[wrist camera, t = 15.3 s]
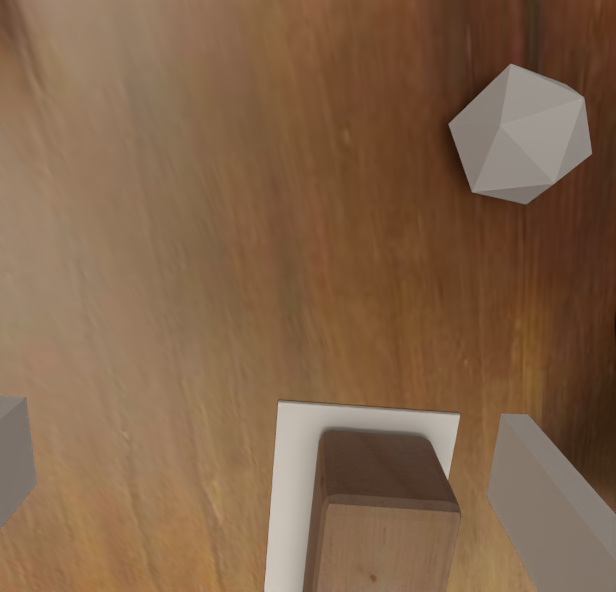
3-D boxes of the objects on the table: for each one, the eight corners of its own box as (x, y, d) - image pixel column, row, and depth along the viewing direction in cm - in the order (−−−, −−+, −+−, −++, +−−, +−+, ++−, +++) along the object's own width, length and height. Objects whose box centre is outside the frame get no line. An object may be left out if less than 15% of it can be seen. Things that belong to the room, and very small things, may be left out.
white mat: (458, 412, 43) (460, 415, 42) (421, 606, 49) (422, 610, 49) (278, 400, 42) (278, 402, 42) (263, 597, 48) (263, 601, 48)
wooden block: (299, 713, 38) (323, 502, 33) (300, 602, 48) (319, 424, 43) (423, 720, 39) (468, 512, 33) (399, 608, 48) (431, 432, 43)
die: (523, 212, 39) (648, 155, 30) (444, 228, 35) (562, 169, 26) (490, 118, 39) (602, 37, 31) (409, 124, 36) (512, 33, 27)
